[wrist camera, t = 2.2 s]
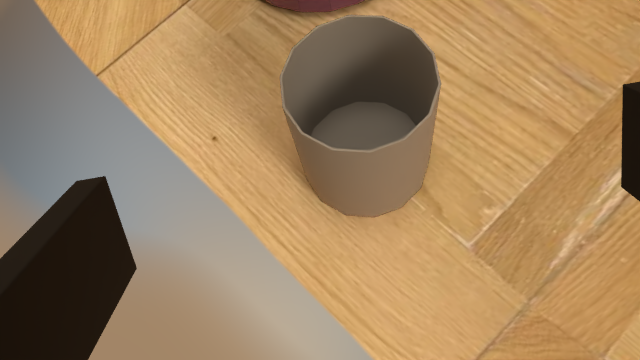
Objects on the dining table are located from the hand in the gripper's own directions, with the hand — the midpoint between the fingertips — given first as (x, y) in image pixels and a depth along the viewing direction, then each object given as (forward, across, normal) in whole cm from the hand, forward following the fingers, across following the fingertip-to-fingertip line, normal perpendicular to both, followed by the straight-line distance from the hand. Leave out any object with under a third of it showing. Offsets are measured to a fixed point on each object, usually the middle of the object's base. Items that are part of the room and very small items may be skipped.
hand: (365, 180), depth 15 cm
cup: (+24, +1, -8) cm, 25 cm away
